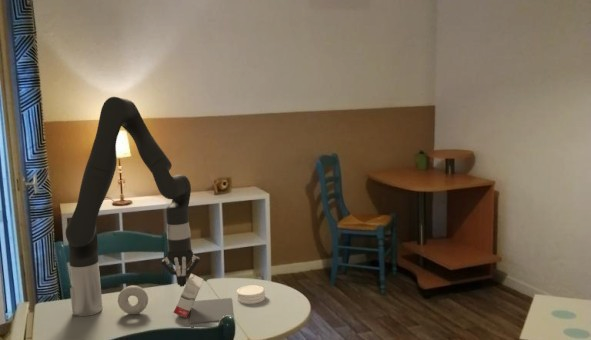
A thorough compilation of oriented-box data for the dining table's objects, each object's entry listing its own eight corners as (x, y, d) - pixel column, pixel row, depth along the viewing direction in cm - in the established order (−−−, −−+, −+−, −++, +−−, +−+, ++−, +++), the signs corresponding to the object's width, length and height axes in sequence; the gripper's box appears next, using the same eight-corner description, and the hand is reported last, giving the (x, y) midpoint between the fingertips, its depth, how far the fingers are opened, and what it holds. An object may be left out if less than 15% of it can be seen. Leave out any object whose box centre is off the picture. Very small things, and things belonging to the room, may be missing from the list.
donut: (150, 311, 193) (148, 283, 191) (148, 315, 189) (146, 286, 188) (120, 312, 192) (117, 284, 190) (117, 316, 189) (115, 288, 187)
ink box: (186, 318, 186) (200, 287, 184) (172, 313, 185) (186, 282, 184) (191, 308, 194) (204, 278, 193) (177, 302, 194) (191, 272, 192)
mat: (190, 323, 182) (190, 322, 182) (191, 302, 199) (191, 301, 199) (233, 320, 184) (233, 318, 184) (231, 299, 201) (231, 297, 201)
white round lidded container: (233, 303, 198) (232, 294, 197) (242, 293, 207) (242, 283, 207) (260, 305, 195) (260, 296, 195) (268, 294, 205) (268, 285, 204)
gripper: (157, 240, 181) (161, 291, 184) (198, 237, 183) (202, 288, 186) (159, 234, 188) (163, 283, 191) (199, 231, 190) (202, 280, 193)
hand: (182, 285), depth 189 cm, fingers closed
